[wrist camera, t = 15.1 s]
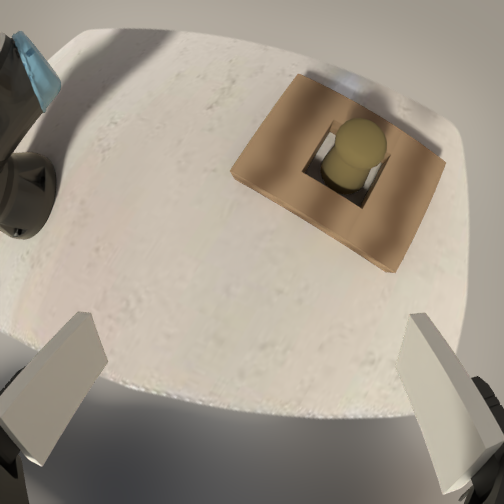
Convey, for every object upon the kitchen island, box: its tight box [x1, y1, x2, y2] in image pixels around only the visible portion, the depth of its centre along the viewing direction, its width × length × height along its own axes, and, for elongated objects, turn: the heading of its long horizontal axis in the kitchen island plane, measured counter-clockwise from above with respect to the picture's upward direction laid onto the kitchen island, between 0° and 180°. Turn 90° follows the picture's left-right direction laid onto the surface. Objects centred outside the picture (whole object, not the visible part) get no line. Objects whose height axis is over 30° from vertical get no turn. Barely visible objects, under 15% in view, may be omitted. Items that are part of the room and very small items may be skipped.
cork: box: [321, 118, 387, 195], centre depth 30 cm, size 6×6×11 cm
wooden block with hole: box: [230, 74, 446, 273], centre depth 34 cm, size 22×16×4 cm
